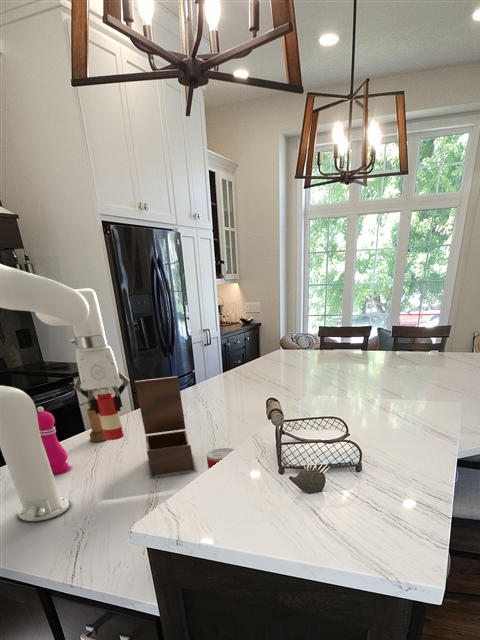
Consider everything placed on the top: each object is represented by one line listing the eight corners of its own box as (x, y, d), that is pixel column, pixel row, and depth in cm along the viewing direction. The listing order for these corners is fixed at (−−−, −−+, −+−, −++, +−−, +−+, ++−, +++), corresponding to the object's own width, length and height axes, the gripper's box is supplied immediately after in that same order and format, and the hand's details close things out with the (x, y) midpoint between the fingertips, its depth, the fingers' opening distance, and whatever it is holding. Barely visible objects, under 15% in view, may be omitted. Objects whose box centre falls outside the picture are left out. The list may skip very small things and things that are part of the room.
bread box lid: (177, 376, 140) (176, 373, 144) (134, 381, 138) (134, 377, 142) (185, 429, 149) (184, 424, 153) (145, 434, 147) (144, 429, 151)
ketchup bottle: (123, 438, 137) (112, 388, 129) (104, 441, 136) (91, 391, 128) (124, 433, 141) (113, 384, 134) (105, 435, 140) (93, 386, 133)
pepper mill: (63, 474, 146) (43, 409, 136) (42, 474, 148) (21, 410, 137) (75, 466, 152) (57, 403, 142) (55, 465, 154) (36, 403, 143)
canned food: (207, 490, 129) (202, 451, 124) (235, 483, 132) (231, 445, 126) (216, 500, 123) (211, 460, 118) (245, 493, 126) (241, 454, 120)
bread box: (194, 471, 141) (190, 445, 137) (152, 478, 139) (146, 451, 135) (189, 455, 154) (185, 430, 150) (150, 460, 152) (145, 435, 148)
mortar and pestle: (112, 437, 176) (100, 387, 166) (99, 442, 171) (86, 391, 162) (100, 435, 179) (88, 386, 169) (87, 440, 174) (73, 390, 165)
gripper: (56, 348, 120) (76, 419, 130) (124, 341, 123) (139, 411, 133) (60, 344, 127) (78, 412, 136) (125, 337, 129) (138, 404, 139)
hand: (108, 410), depth 134 cm, fingers closed on ketchup bottle, 5 cm apart
